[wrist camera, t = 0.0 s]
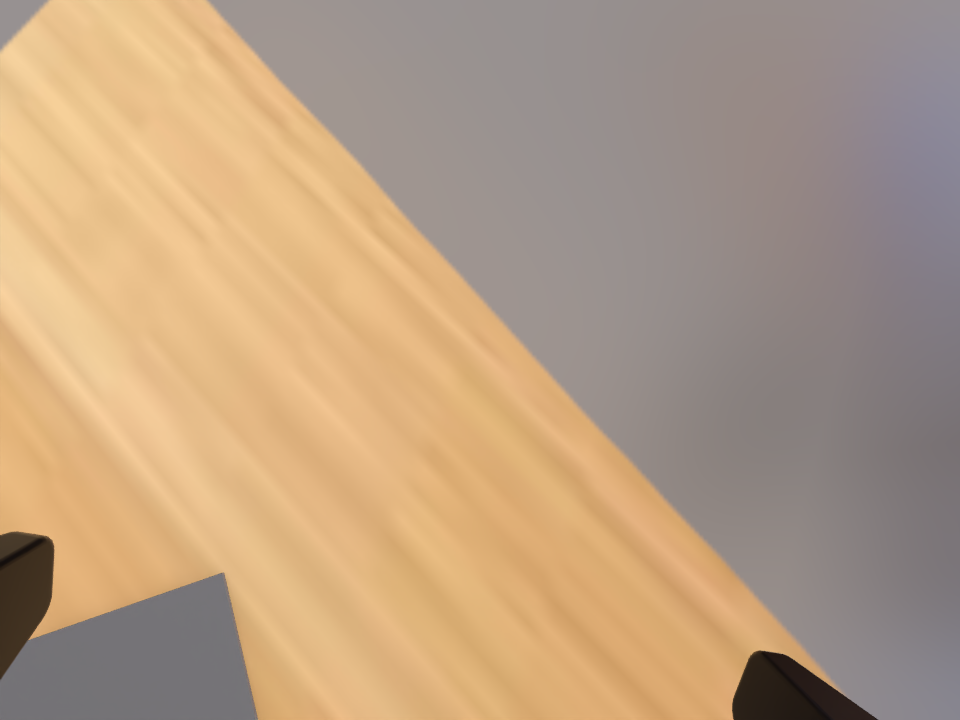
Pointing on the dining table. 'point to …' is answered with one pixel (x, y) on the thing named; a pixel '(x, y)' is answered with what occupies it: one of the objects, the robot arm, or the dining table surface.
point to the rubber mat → (137, 664)
